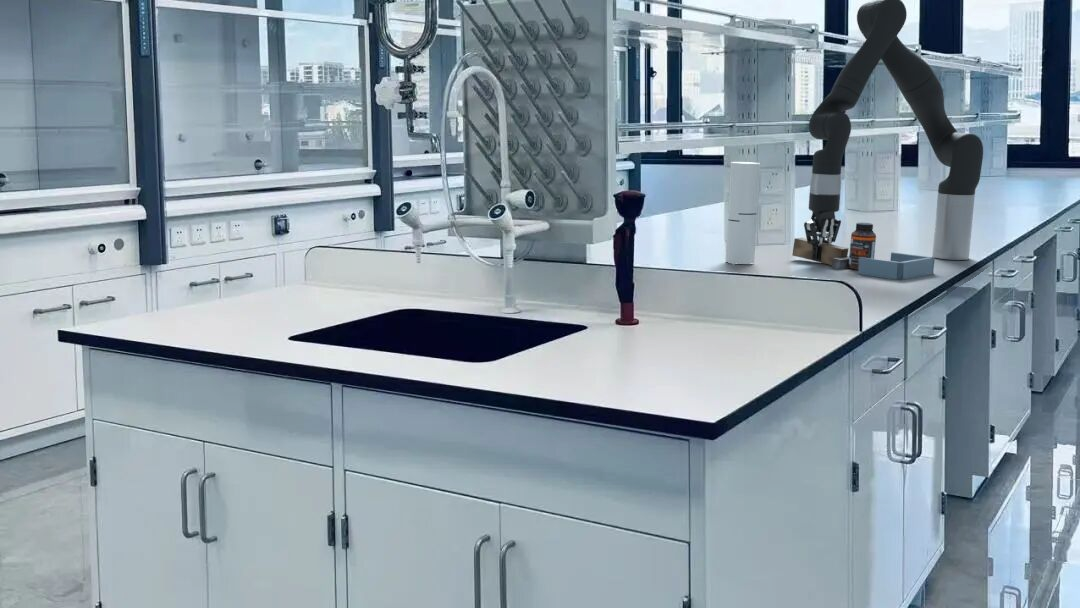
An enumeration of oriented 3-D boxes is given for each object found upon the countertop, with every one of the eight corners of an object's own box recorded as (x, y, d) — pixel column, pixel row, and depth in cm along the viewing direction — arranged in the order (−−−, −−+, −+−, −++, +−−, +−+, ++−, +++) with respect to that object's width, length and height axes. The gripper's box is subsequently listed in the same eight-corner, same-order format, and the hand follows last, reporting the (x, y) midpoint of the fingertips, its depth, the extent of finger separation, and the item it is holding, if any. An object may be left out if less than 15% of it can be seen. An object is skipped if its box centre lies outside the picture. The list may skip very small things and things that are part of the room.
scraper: (784, 256, 286) (786, 239, 285) (806, 253, 293) (808, 236, 292) (838, 269, 275) (841, 251, 274) (860, 266, 282) (863, 249, 281)
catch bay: (858, 273, 268) (859, 257, 267) (891, 268, 279) (893, 252, 278) (900, 280, 260) (901, 263, 259) (933, 273, 271) (934, 257, 270)
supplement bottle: (846, 269, 275) (850, 223, 273) (849, 266, 280) (853, 221, 278) (872, 271, 272) (875, 225, 270) (874, 268, 278) (878, 222, 276)
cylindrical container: (753, 265, 277) (760, 164, 273) (724, 264, 279) (730, 163, 274) (754, 261, 284) (760, 162, 280) (725, 260, 286) (731, 161, 281)
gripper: (827, 189, 289) (822, 256, 292) (796, 191, 279) (791, 260, 282) (853, 192, 283) (848, 259, 287) (822, 194, 274) (817, 264, 277)
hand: (820, 259), depth 284 cm, fingers closed on scraper, 3 cm apart
